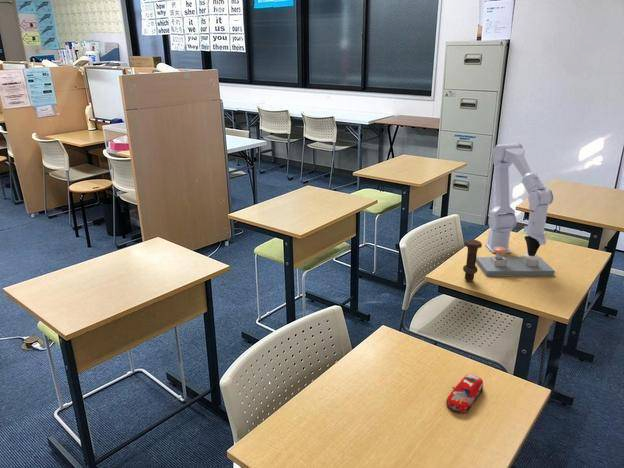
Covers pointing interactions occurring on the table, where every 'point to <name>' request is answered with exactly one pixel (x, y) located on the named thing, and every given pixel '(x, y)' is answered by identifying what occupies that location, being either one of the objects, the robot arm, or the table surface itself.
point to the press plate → (514, 266)
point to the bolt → (471, 259)
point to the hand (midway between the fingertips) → (531, 255)
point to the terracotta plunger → (500, 252)
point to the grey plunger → (531, 257)
